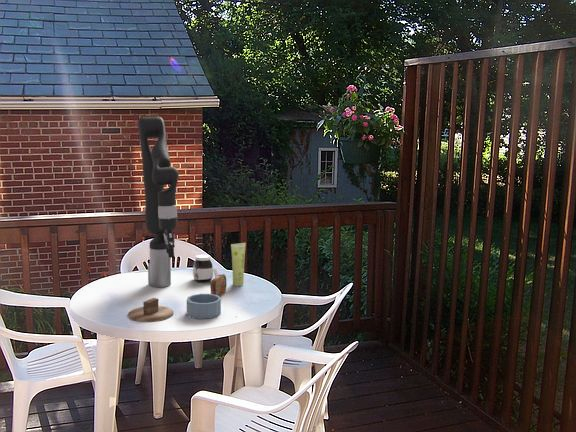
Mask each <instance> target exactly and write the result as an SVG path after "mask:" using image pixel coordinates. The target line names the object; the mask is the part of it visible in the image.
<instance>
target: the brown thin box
mask: <svg viewBox="0 0 576 432" xmlns="http://www.w3.org/2000/svg"><path fill="white" fill-rule="evenodd" d="M226 277H227V276H226V275H225V274H219V275H217V276H216V277H215V276H214V278H212V280H210V281H211V282H210V294H214V295H218V296H219V297H221V298H222V296H223V295H224V294H225V293H226V290H227V278H226Z"/></svg>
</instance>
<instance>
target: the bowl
mask: <svg viewBox="0 0 576 432" xmlns="http://www.w3.org/2000/svg"><path fill="white" fill-rule="evenodd" d="M221 311H222V296H221V297H219V296H218V295H214V294H211V293H197V294H192V295H190V296H188V297H186V314H187V316H188V317H190V318H192V319H197V320H209V319H210V320H211V319H214V318H217V317H219V316H220V315H221Z"/></svg>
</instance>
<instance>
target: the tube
mask: <svg viewBox="0 0 576 432" xmlns="http://www.w3.org/2000/svg"><path fill="white" fill-rule="evenodd" d="M246 245H247V243H246V242H241V243H239V242H238V243H231V244H230V250H231V265H232V285H233V286H235V287H239V286H240V287H241V286H244V283H245V282H244V280H245V278H244V277H245V258H246V257H245V256H246V255H245V254H246Z"/></svg>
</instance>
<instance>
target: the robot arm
mask: <svg viewBox="0 0 576 432" xmlns="http://www.w3.org/2000/svg"><path fill="white" fill-rule="evenodd" d="M165 124H166V123H165V121H164V119H163V118H162V117H161V116H142V117H139V118H138V121H137V127H138V128H137V130H138V135H139V143H140V148H141V149H140V150H141V160H142V178H143V184H144V185H143V186H144V198H145V199H144V200H145V201H144V202H145V212H144V213H145V214H144V216H145V217H144V218H145V220H144V221H145V222H144V223H145V228H146V230H147V231H148V233H149V234H151V235H154V236H153V238H152V239H151V240H150V241H149V263H148V264H147V276H148V277H147V283H148V286H150V287H154V288H165V287H169V286H171V284H172V282H171V281H172V279H171V277H172V273H171V272H172V271H171V270H172V264H171V261H172V260H171V258H172V259H173V258H175V246H176V245H175V241H176V240H175V232H174V231H173V229H176V228H178V226H179V222H178V208H177V203H176V201H177V199H176V190H177V186H178V183H179V182H178V180H179V175H180V174H179V171H178V169H177V168H176V167H174V166H171V162H172V161H171V159H170V154H169V150H168V145H167V144H168V143H167V142H168V141H167V132H166V125H165ZM148 139H157V140H156V142H155V143H154V145H153V146H152V147H150V144H149V140H148ZM167 185H169V187H168V188H166V189H164V188H165V186H167Z"/></svg>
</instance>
